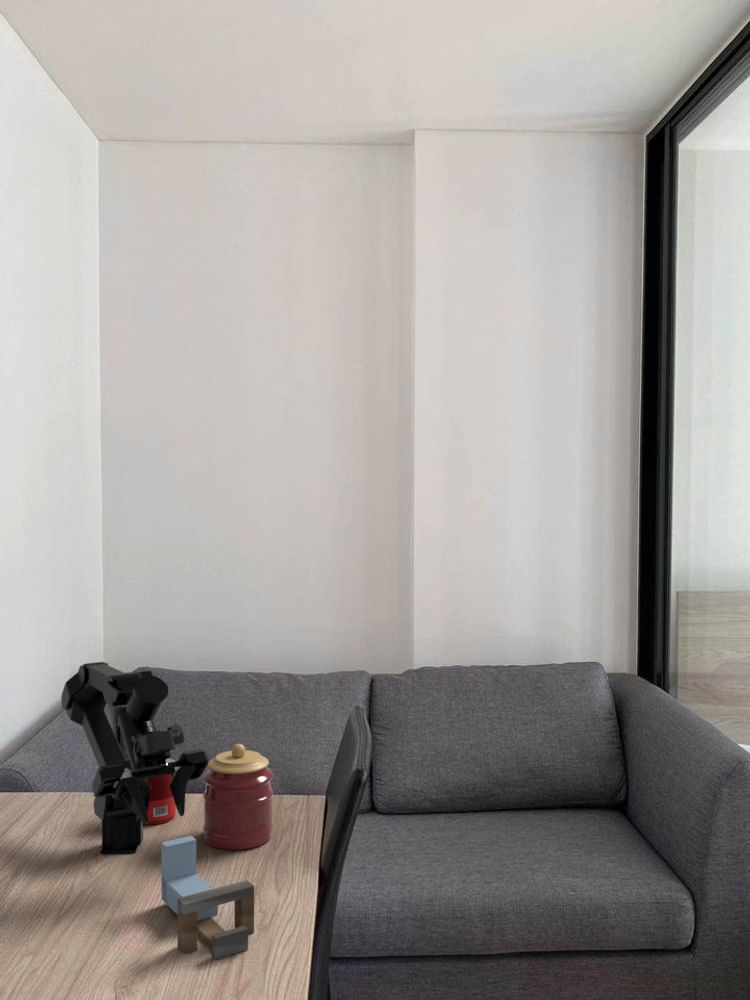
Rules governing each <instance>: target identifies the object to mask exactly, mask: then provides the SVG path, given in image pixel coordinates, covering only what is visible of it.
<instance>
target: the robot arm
mask: <svg viewBox="0 0 750 1000" xmlns="http://www.w3.org/2000/svg"><path fill="white" fill-rule="evenodd" d="M168 695H169V685H168V684H167V683H166V682H165V681H164V680H163V679H161V678H160V677H159V676H155V675H153V672H152V670H144V671H141V670H140V671H139V670H137V671H129V672H127V671H126V672H123V671H122V670H118V669H117V668H114V667H113V666H110V665H108V663H107V662H104V661H98V662H90V663H89V662H87V663H84V664H82V665H80V666H79V668H78V670H77V672H76V673H75V674H73V676H72V677H70V678H69V679H68V680H67V681H65V684H64V687H63V690H62V692H61V697H60V698H61V701H60V702H61V706H62V709H63V711H64V710H65V712H66V714H67V716H68V717H69V720H70V721H72V722H74V723H76V724H78V725H79V726H82V728H83V731H84V733H85V737H86V738H87V740H88V743H89V745H90V748H91V751H92V752H93V755H94V758H95V760H96V762H97V765H98V770H97V772H96V773H95V776H94V779H93V781H92V784H91V787H92V792H93V796H94V797H95V798H94V799H93V812H94V815H95V816H97V817H98V818H99V820H101V846H100V849H99V854H117V853H118V854H119V853H121V854H122V853H124V854H125V853H127V854H128V853H136V852H137V850H138V849H139V847H140V845H142V842H143V840H144V824H147V823H148V816H147V812H148V807H149V801H150V794H151V786H150V784H149V781H148V779H147V778H153V777H158V776H164V775H169V774H170V775H171V777H172V782H171V784H170V789H171V792H172V795H173V798H174V801H175V805H176V810H177V812H178V815H179V816H180V817H183V816H184V815H185V811H186V809H185V808H186V791H187V790H186V789H187V784H188V782H189V781H190V780H191V781H192V780H197V779H199V778H200V777H202V774H203V773H204V771H205V769H206V767H207V766H208V763H209V761H210V760H209V758H208V755H207V753H206V751H204V750H203V749H202V748H201V749H200V748H199V749H195V750H190V751H182V753H181V755H180V757H179V759H178V760H175V762H169V763H167V762H166V759H168V758H170V759H171V756H172V753H171V751H174V750H176V749H177V748H176V746H179V745H182V744H183V743H184V742H185V734H184V731H183V728H182V726H181V724H175V725H170V726H169V727H167V730H163V731H161V730H157V726H156V723H155V722H156V721H155V720H154V719H156V718H157V717H158V716H159V714H160V712H161V710H162V707H163V705H164V703H165V701H166V700H167V699H166V698H167V697H168ZM107 705H108V706H109V707H110V708H118V707H120V708H121V707H123V708H122V709H121V710H120V711H119V713H118V715H117V728H118V729H120V731H121V734H122V738H123V742H124V745H125V751H124V752H123V750H122V747H121V745H120V742H119V741H118V739H117V736H116V734H115V731H114V729H113V728H112V724H111V723H110V720H109V719H108V716H107V714H106V710H107ZM126 758H128V760H127V759H126ZM143 823H144V824H143Z"/></svg>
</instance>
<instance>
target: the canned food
mask: <svg viewBox="0 0 750 1000" xmlns="http://www.w3.org/2000/svg"><path fill="white" fill-rule="evenodd" d="M175 761H176V760H174V759H172V758H171V757H170V758H168V759H166V762H167V763H169V762H175ZM147 779H148V781H149V784H150V786H151V794H150V801H149V807H148V812H147V816H148V823H147V824H148V825H147V826H154V825H153V824H158V825H162V824H161V823H163V824H166V823H168V821H169V822H170V820H171V819H172V820H173V819H174V818H175V815H176V812H177V811H176V810H177V808H176V805H175V801H174V798H173V795H172V792H171V789H170V784H171V782H172V777H171V775H170V774H169V775H164V776H158V777H153V778H147ZM172 820H171V821H172ZM165 822H166V823H165ZM143 825H144V823H143Z"/></svg>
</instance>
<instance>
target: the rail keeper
mask: <svg viewBox="0 0 750 1000" xmlns="http://www.w3.org/2000/svg"><path fill="white" fill-rule="evenodd" d="M231 902H234V928H232V929H227V930H226V929H224V928H223V927H222V926H221V925H219V923H218V922H217V921H215V920H214V919H213V917H211V918H207V919H204V920H200V921H197V911H199V910H203V909H206V908H210V907H214V906H217V905H218V906H220V905H223V904H227V903H231ZM254 933H255V885H254V884H252V882H250V881H249V880H247V879H246V880H242V881H239V882H234V883H231V884H227V885H223V886H219V887H216V888H213V889H211V890H207V891H204V892H200V893H196V894H192V895H189V896H185V897H181V898H178V915H177V948H178V949H179V950H180V951H181V952H182V953H183V954H184V953H185V954H188V953H191V952H195V951H197V950H198V935H199V936H200V938H202V940H204V941H205V943H207V945H209V946H210V947H211V956H212V958H213V959H214V960H219V959H223V958H226V957H229V956H228V955H230V956H232V955H231V954H233V955H235V953H236V954H239V953H242V952H245V951H244V950H246V951H248V950H249V935H251V934H254ZM247 949H248V950H247ZM241 951H242V952H241ZM238 952H239V953H238Z"/></svg>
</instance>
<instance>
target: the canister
mask: <svg viewBox="0 0 750 1000" xmlns="http://www.w3.org/2000/svg"><path fill="white" fill-rule="evenodd" d="M269 764H270V761H269V759H268V758H267V757H265V756H263V755H262V754H261V753H260V752H258V751H254V750H250V749H249V750H247V749H246V747H245V746H244V744H241V743H236V744H234V745H233V746H232V747H231V750H228V751H224V752H223V751H222V752H220V753H218V754H217V755H216V756H215V757H214V758H212V759H211V760H209V762H208V764H207V766H208V768H209V770H207V771H206V772H205V773H204V775H203V777H202V778H203V781H204V782H205V783H206V785H205V790H204V792H203V796H202V797H203V800H204V801H203V803H204V804H203V805H204V806H203V807H204V808H203V812H204V813H203V814H204V815H203V817H204V818H203V822H204V823H203V825H202V829H203V830H202V832H203V833H202V834H203V836H204V841H205V843H206V844H207V845H209V846H211V847H213V848H216V849H221V850H229V851H239V850H247V849H253V848H257V847H259V846H262V845H264V844H266V843H267V842H269V841H270V840H271V838H272V836H273V831H274V822H273V795H274V789H273V788H272V786H271V780H272V779H273V778H274V772H273V771H272V770H271V769H270V768H269V767H268V765H269Z"/></svg>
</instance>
